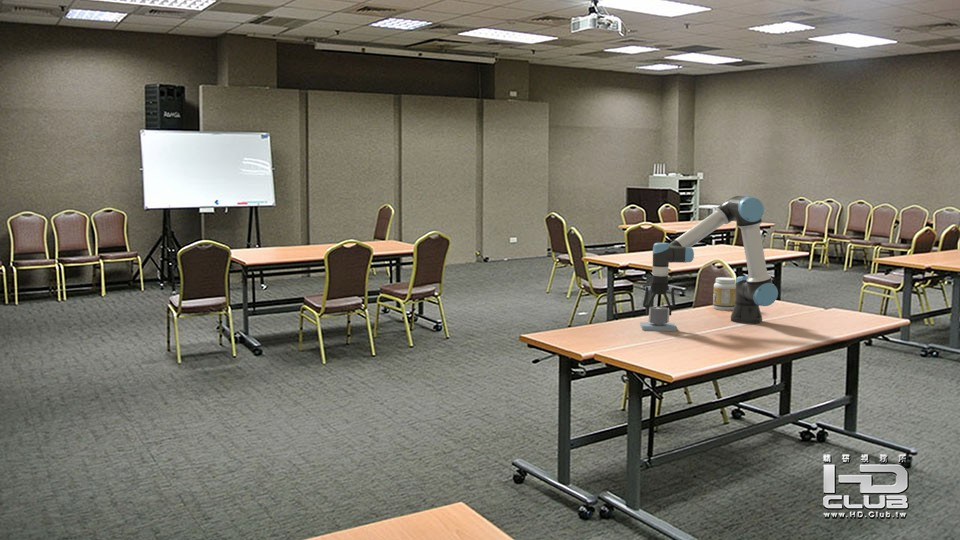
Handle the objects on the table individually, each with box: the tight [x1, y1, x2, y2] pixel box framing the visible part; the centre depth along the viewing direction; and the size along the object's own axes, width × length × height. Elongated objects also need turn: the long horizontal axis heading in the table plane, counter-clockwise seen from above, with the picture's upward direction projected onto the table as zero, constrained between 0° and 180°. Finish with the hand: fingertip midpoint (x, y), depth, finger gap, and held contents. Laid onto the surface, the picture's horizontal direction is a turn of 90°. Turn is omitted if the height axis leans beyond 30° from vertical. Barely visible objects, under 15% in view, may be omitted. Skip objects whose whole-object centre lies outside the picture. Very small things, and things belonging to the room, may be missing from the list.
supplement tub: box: [712, 276, 736, 311], centre depth 440 cm, size 12×12×17 cm
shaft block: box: [640, 308, 678, 332], centre depth 384 cm, size 16×10×10 cm, turn 84°
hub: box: [649, 306, 669, 324], centre depth 383 cm, size 8×8×7 cm
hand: (658, 321), depth 384 cm, fingers closed on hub, 8 cm apart
